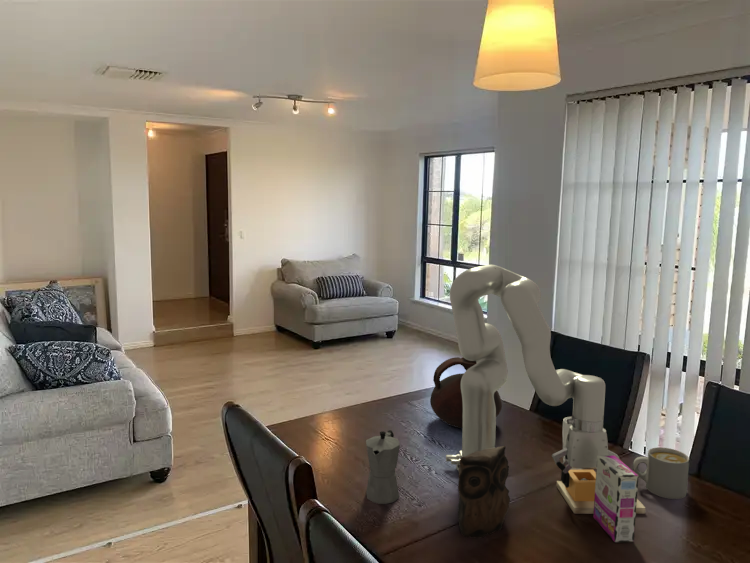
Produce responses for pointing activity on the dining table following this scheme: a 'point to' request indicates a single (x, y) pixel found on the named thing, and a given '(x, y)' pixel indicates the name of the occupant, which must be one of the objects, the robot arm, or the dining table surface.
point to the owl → (483, 492)
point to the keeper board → (586, 502)
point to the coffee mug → (665, 472)
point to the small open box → (582, 485)
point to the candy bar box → (615, 498)
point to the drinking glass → (564, 435)
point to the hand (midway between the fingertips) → (583, 485)
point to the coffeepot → (382, 468)
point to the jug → (453, 393)
